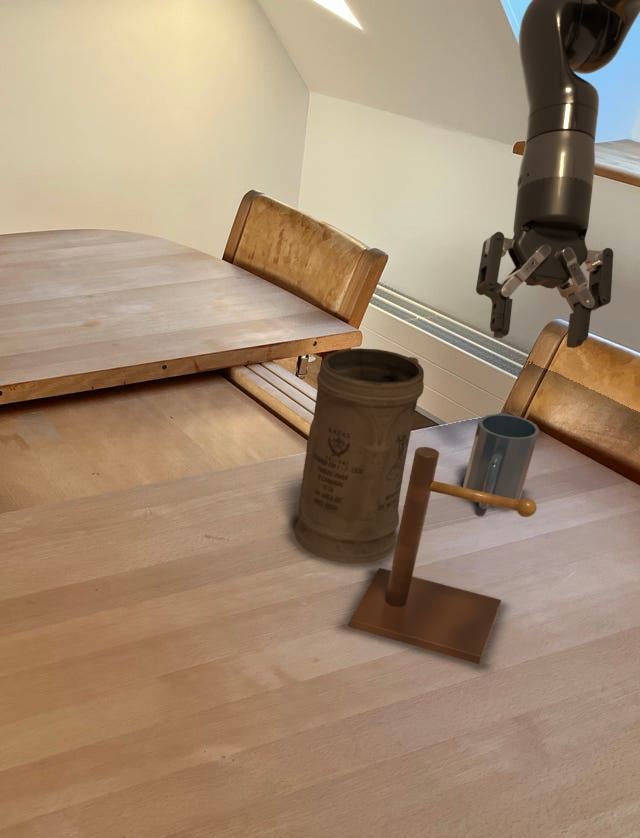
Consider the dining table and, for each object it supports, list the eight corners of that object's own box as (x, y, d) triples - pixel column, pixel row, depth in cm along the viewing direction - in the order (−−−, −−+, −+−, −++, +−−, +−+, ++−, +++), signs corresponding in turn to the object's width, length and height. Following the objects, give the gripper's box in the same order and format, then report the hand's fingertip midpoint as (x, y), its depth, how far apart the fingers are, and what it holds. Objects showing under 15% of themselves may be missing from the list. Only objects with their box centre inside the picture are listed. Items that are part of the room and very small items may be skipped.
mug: (467, 480, 115) (484, 409, 110) (522, 493, 113) (543, 421, 108) (449, 517, 108) (467, 443, 103) (507, 531, 106) (529, 456, 101)
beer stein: (372, 582, 97) (413, 388, 86) (274, 552, 101) (302, 363, 90) (417, 526, 108) (459, 348, 97) (328, 500, 112) (358, 327, 101)
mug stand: (506, 614, 93) (554, 453, 83) (486, 672, 86) (536, 504, 76) (376, 580, 98) (407, 422, 87) (347, 632, 90) (377, 467, 80)
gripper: (509, 164, 99) (492, 324, 100) (637, 184, 101) (619, 341, 102) (476, 193, 107) (460, 341, 107) (595, 211, 108) (579, 357, 109)
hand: (538, 341), depth 105 cm, fingers open, 8 cm apart
